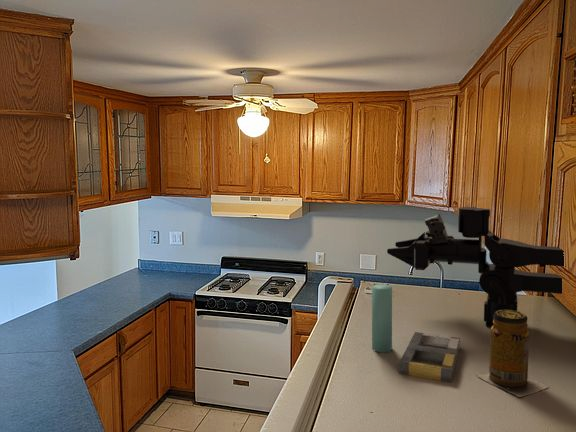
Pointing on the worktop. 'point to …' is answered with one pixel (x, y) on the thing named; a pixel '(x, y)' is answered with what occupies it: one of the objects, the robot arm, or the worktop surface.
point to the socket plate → (430, 356)
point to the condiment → (510, 354)
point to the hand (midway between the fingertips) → (391, 247)
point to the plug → (382, 318)
